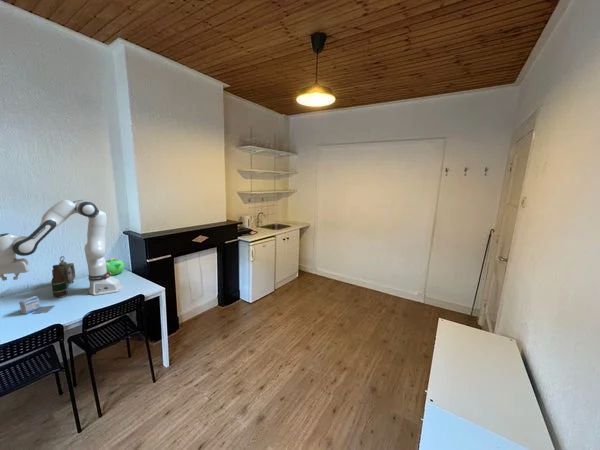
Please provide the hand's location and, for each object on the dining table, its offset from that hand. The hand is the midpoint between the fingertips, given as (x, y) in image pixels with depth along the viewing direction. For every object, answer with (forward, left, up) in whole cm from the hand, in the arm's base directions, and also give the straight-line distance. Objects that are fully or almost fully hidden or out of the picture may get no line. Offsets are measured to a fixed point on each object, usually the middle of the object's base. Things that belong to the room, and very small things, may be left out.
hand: (10, 279), depth 162 cm
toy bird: (-35, -57, -23) cm, 71 cm away
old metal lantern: (-8, -39, -23) cm, 46 cm away
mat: (-14, 0, -23) cm, 27 cm away
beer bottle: (-13, -21, -23) cm, 34 cm away
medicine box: (-7, 0, -23) cm, 24 cm away
